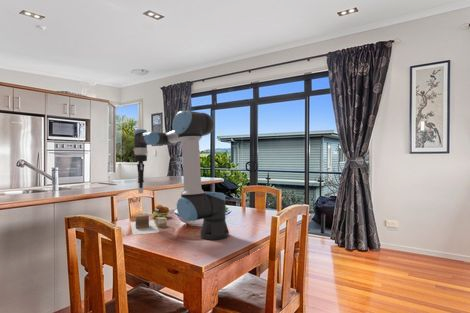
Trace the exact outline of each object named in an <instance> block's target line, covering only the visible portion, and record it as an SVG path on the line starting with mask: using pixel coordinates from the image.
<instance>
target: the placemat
mask: <svg viewBox="0 0 470 313" xmlns="http://www.w3.org/2000/svg"><path fill="white" fill-rule="evenodd" d="M129 223H130V227H131V233H132V236H135V235H136V236H137V235H146V234H149V235H150V234H156V233H157V234H158V233H160V230H159V228H158V227H157V226H155V223H156V222H155V221H154V219H151V220H150V219H149V228H141V229H136V221H130V222H129Z"/></svg>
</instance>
